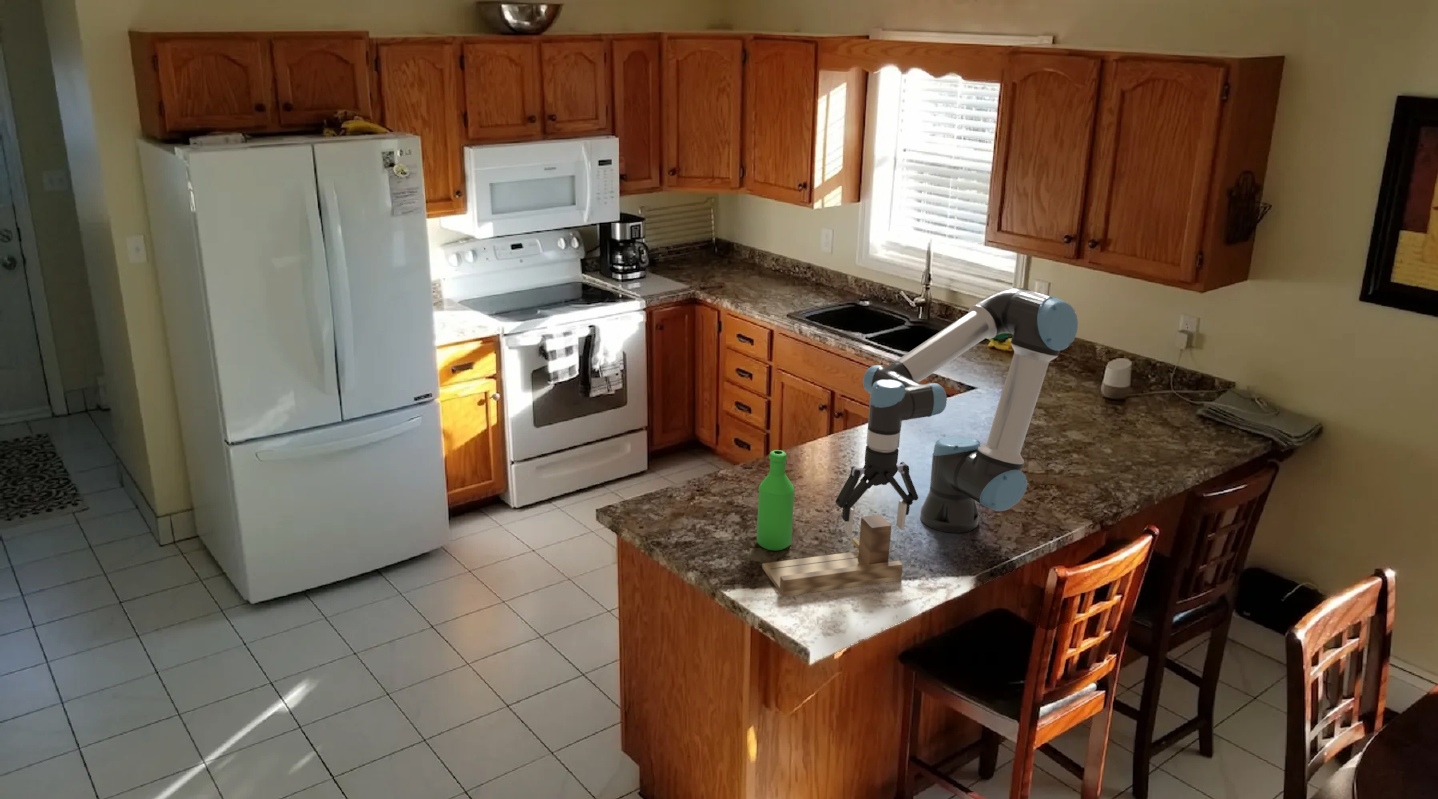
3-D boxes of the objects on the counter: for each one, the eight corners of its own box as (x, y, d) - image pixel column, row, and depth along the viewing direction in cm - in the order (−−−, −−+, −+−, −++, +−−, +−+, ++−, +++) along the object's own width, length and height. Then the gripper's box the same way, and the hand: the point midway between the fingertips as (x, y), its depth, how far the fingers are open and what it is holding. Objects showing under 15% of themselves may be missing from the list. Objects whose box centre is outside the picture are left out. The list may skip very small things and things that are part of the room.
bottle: (751, 538, 273) (754, 447, 265) (782, 534, 276) (787, 443, 268) (764, 554, 266) (768, 461, 257) (796, 549, 268) (802, 457, 260)
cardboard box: (862, 544, 269) (866, 500, 265) (887, 571, 256) (891, 525, 252) (844, 547, 267) (847, 502, 263) (868, 573, 255) (872, 527, 251)
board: (875, 553, 268) (877, 538, 266) (901, 580, 255) (902, 564, 254) (762, 567, 259) (762, 552, 258) (782, 596, 246) (783, 580, 245)
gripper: (923, 436, 255) (914, 518, 262) (826, 444, 247) (819, 528, 254) (938, 448, 248) (929, 531, 255) (838, 456, 241) (831, 542, 248)
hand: (874, 530), depth 255 cm, fingers open, 13 cm apart
